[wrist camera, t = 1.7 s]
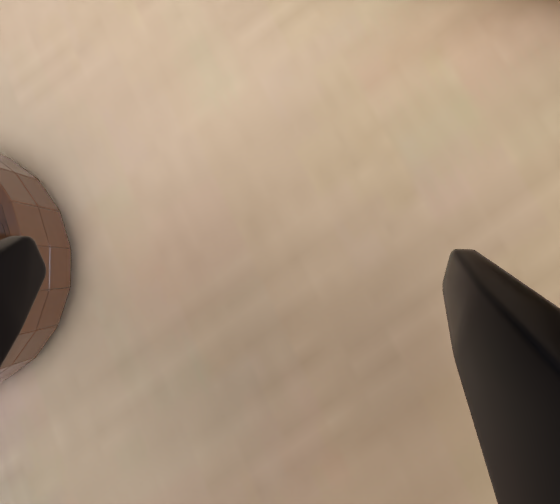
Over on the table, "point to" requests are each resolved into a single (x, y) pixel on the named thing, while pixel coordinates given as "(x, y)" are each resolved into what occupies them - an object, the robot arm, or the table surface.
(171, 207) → the table surface
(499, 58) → the table surface
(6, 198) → the bowl
